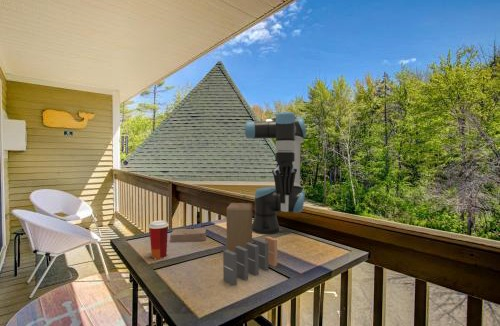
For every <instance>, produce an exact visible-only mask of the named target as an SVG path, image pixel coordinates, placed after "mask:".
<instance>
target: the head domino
mask: <svg viewBox="0 0 500 326" xmlns="http://www.w3.org/2000/svg"><path fill="white" fill-rule="evenodd" d="M264 241H265V242H268V266H271V267H274V268H275V267H277V266H278V239H277V238H275V237H271V236H264Z"/></svg>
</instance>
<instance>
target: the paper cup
mask: <svg viewBox="0 0 500 326" xmlns="http://www.w3.org/2000/svg"><path fill="white" fill-rule="evenodd" d="M169 225H170V224H169V223H168V221H167V220H163V219H162V220H154V221H151V222H150V223H149V224H148V228H149V239H150V250H151V251H150V252H151V258H152V259H153V258H156V259H155V260H161V259H160V258H162V259H165V258H166V257H167V252H168V249H167V248H168V235H169V234H168V232H169V231H168V228H169ZM164 257H165V258H164Z"/></svg>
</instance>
